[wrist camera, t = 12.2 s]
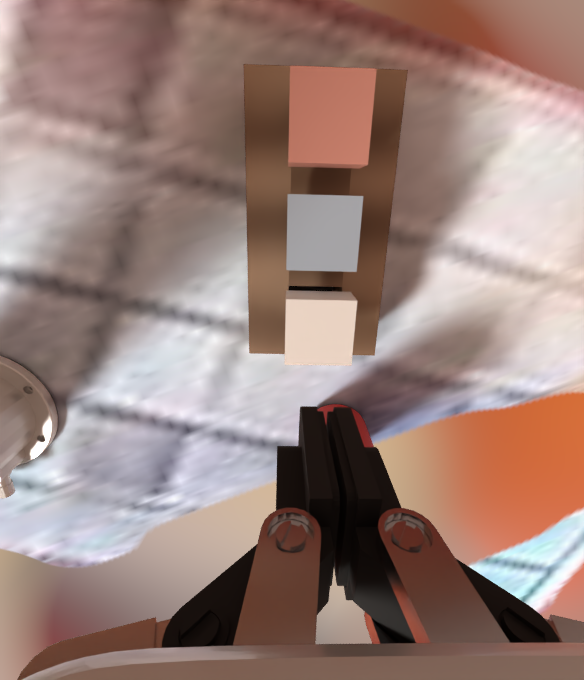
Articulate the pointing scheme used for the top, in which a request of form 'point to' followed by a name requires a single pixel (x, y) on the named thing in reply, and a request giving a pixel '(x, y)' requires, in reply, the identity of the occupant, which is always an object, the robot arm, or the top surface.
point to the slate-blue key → (323, 232)
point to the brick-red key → (330, 116)
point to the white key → (319, 327)
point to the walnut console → (280, 180)
